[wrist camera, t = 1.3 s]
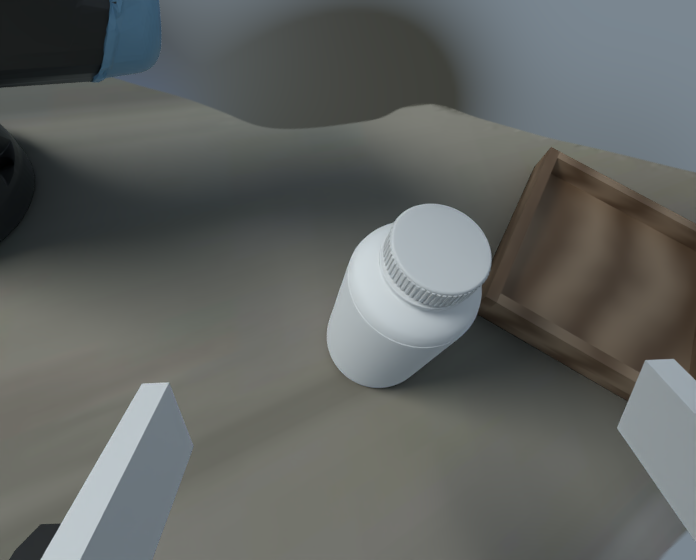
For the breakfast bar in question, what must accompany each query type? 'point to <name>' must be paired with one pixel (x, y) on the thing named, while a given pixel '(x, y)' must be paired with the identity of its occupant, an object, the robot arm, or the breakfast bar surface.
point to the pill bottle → (408, 294)
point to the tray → (595, 275)
